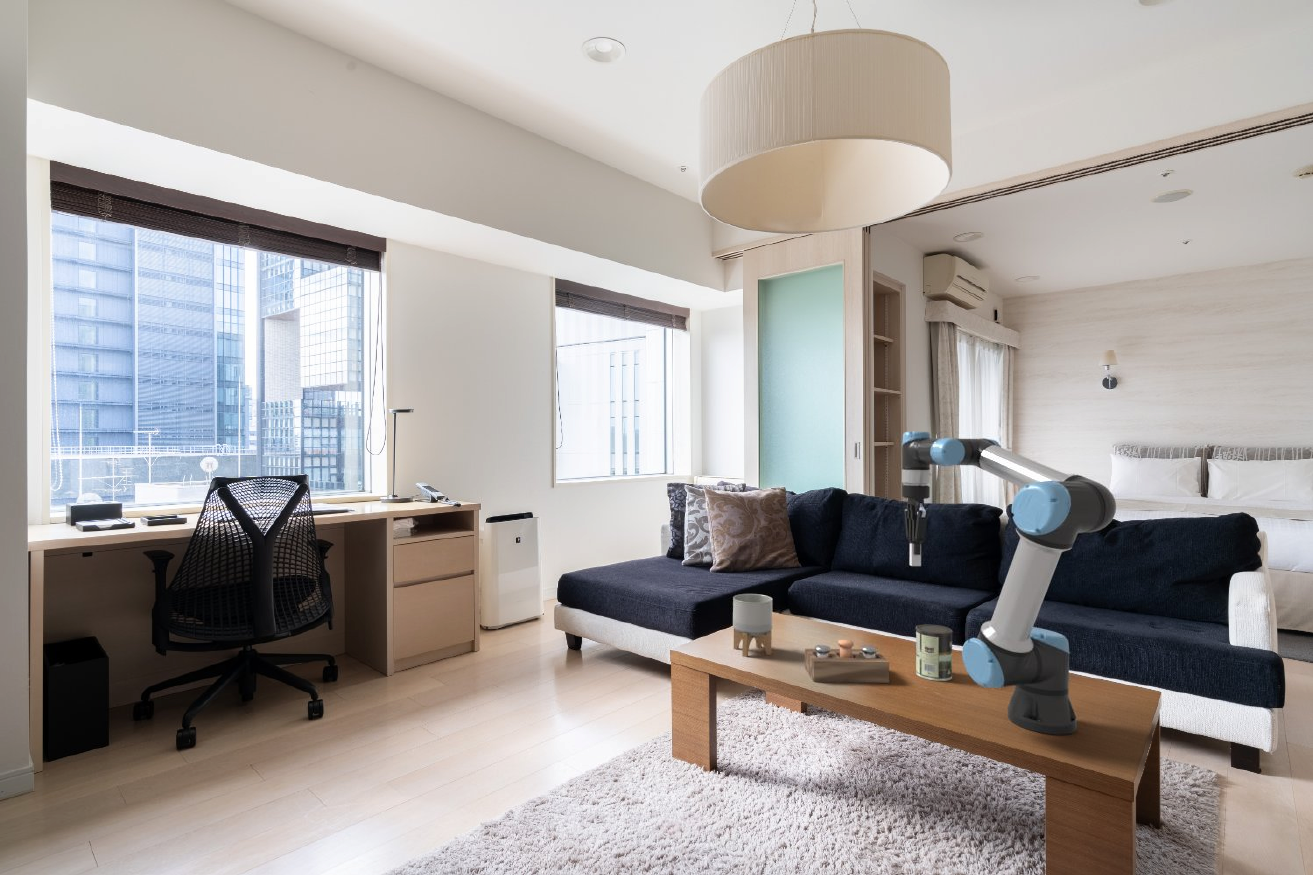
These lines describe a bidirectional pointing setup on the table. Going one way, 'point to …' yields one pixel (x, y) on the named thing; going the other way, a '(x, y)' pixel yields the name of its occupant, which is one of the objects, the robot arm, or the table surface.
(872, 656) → the grey plug
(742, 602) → the planter
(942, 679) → the coffee can
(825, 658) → the wooden slotted block
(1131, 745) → the table surface
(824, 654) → the grey plug
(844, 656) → the terracotta plug
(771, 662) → the table surface
